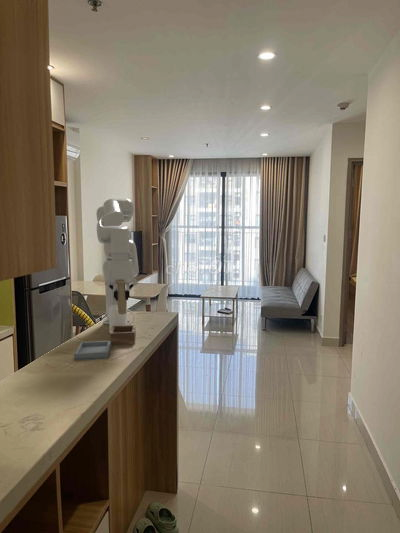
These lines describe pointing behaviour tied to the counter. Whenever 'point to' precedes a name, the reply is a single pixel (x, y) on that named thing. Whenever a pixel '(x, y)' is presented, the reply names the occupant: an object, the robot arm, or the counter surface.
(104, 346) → the tray
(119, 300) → the handle
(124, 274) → the robot arm
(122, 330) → the holder
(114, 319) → the mug
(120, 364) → the counter surface
